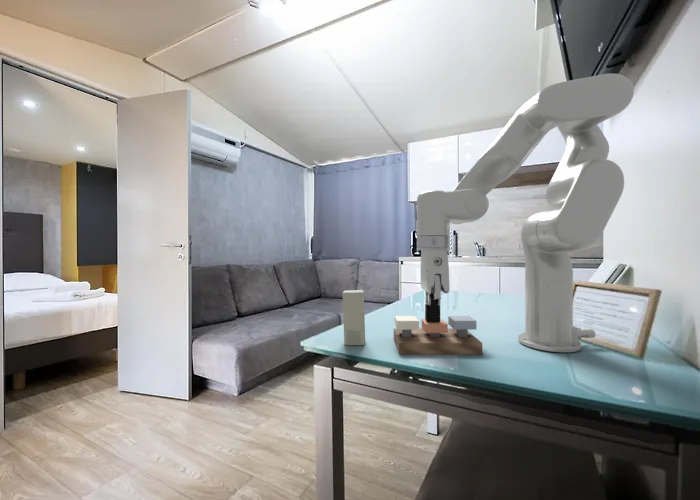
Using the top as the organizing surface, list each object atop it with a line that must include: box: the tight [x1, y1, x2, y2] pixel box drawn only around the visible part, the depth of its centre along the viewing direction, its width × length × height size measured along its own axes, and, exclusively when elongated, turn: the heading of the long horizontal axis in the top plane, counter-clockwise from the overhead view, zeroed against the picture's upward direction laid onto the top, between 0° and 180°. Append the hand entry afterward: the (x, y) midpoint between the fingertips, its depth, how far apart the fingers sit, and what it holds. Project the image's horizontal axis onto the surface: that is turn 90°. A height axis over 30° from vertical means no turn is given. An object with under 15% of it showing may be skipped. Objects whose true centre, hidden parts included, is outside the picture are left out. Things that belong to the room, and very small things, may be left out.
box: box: [342, 289, 366, 346], centre depth 77 cm, size 5×4×13 cm
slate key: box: [447, 315, 477, 337], centre depth 74 cm, size 5×5×4 cm
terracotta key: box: [421, 318, 449, 337], centre depth 75 cm, size 5×5×4 cm
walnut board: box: [393, 328, 483, 355], centre depth 75 cm, size 18×12×2 cm, turn 88°
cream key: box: [394, 315, 420, 337], centre depth 75 cm, size 5×5×4 cm
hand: (432, 321), depth 75 cm, fingers closed
